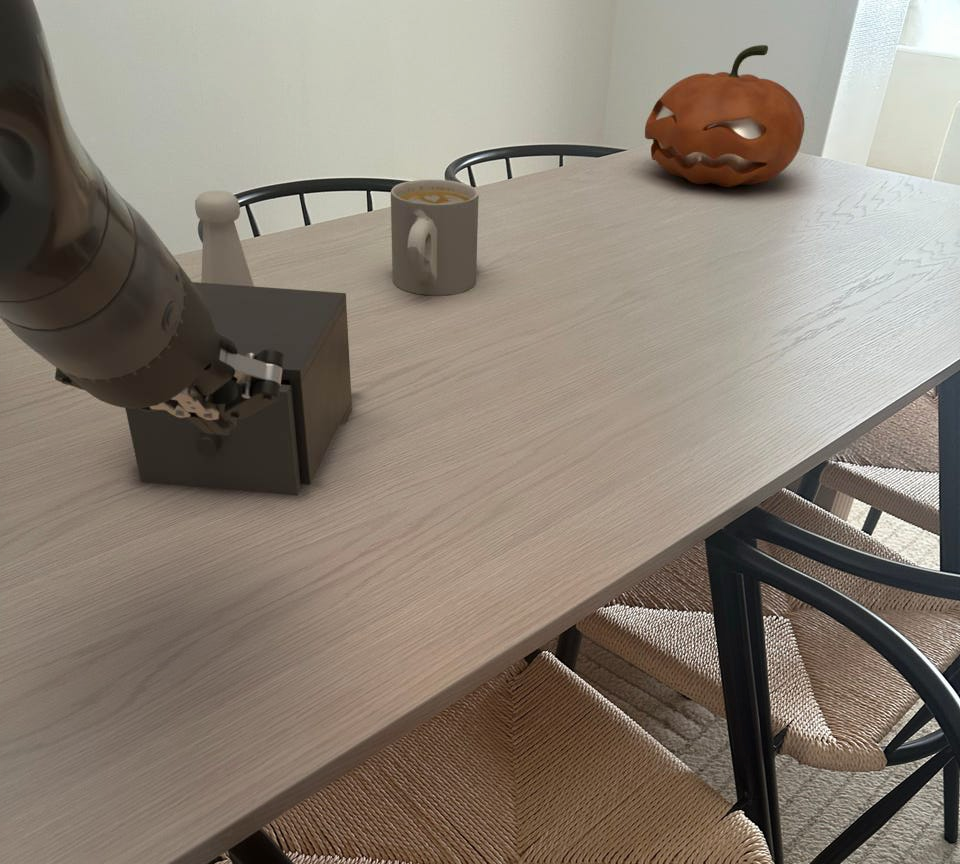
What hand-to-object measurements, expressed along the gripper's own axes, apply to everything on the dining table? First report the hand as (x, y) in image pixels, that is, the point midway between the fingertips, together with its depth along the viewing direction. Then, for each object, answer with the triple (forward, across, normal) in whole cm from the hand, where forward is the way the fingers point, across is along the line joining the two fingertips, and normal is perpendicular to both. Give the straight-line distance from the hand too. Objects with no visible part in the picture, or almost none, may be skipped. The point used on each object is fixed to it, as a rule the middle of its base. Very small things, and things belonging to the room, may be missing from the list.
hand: (219, 419), depth 62 cm
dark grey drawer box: (+23, +5, -5) cm, 24 cm away
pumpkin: (+92, -42, -73) cm, 125 cm away
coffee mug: (+52, -4, -34) cm, 62 cm away
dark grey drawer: (+20, +5, -4) cm, 21 cm away
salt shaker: (+42, +15, -23) cm, 50 cm away
